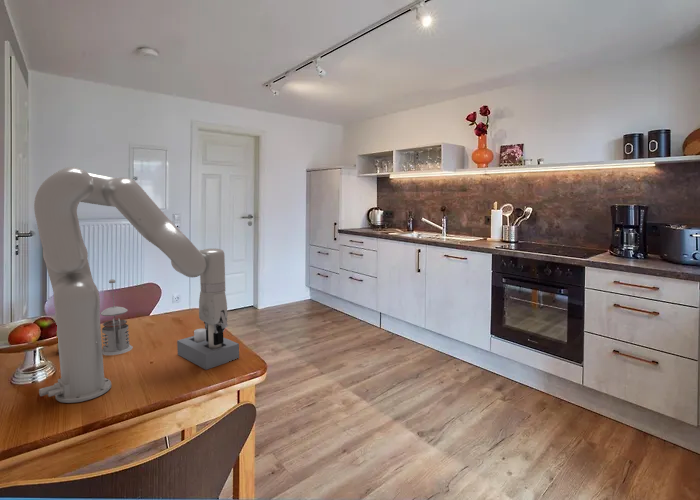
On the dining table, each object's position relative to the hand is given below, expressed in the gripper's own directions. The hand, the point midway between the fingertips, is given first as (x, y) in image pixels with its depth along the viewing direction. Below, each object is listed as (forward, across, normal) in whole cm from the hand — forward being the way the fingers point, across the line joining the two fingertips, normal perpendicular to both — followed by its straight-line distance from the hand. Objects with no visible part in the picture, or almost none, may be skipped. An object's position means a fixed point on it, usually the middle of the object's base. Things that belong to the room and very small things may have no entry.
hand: (214, 341), depth 127 cm
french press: (+6, -32, -18) cm, 38 cm away
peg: (+3, 0, 0) cm, 3 cm away
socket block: (+6, -4, 0) cm, 8 cm away
